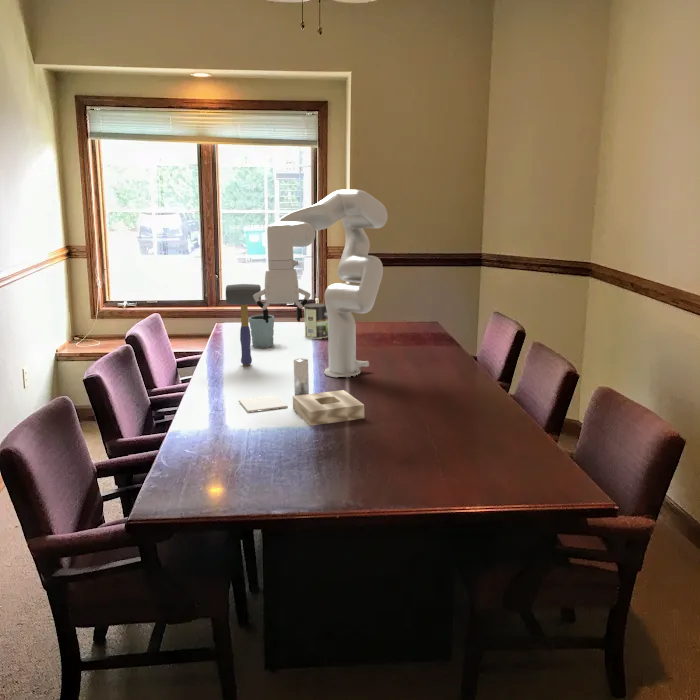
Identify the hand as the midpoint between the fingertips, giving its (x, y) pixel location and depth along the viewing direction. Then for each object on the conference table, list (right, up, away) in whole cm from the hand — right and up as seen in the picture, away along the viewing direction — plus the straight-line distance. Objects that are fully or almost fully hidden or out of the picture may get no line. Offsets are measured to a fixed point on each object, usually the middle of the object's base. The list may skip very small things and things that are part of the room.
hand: (282, 321), depth 215 cm
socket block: (+14, -27, -12) cm, 33 cm away
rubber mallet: (-17, -15, +44) cm, 49 cm away
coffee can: (+6, -3, +92) cm, 92 cm away
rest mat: (-6, -25, -3) cm, 26 cm away
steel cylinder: (+6, -24, +3) cm, 24 cm away
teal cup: (-16, -7, +76) cm, 78 cm away
